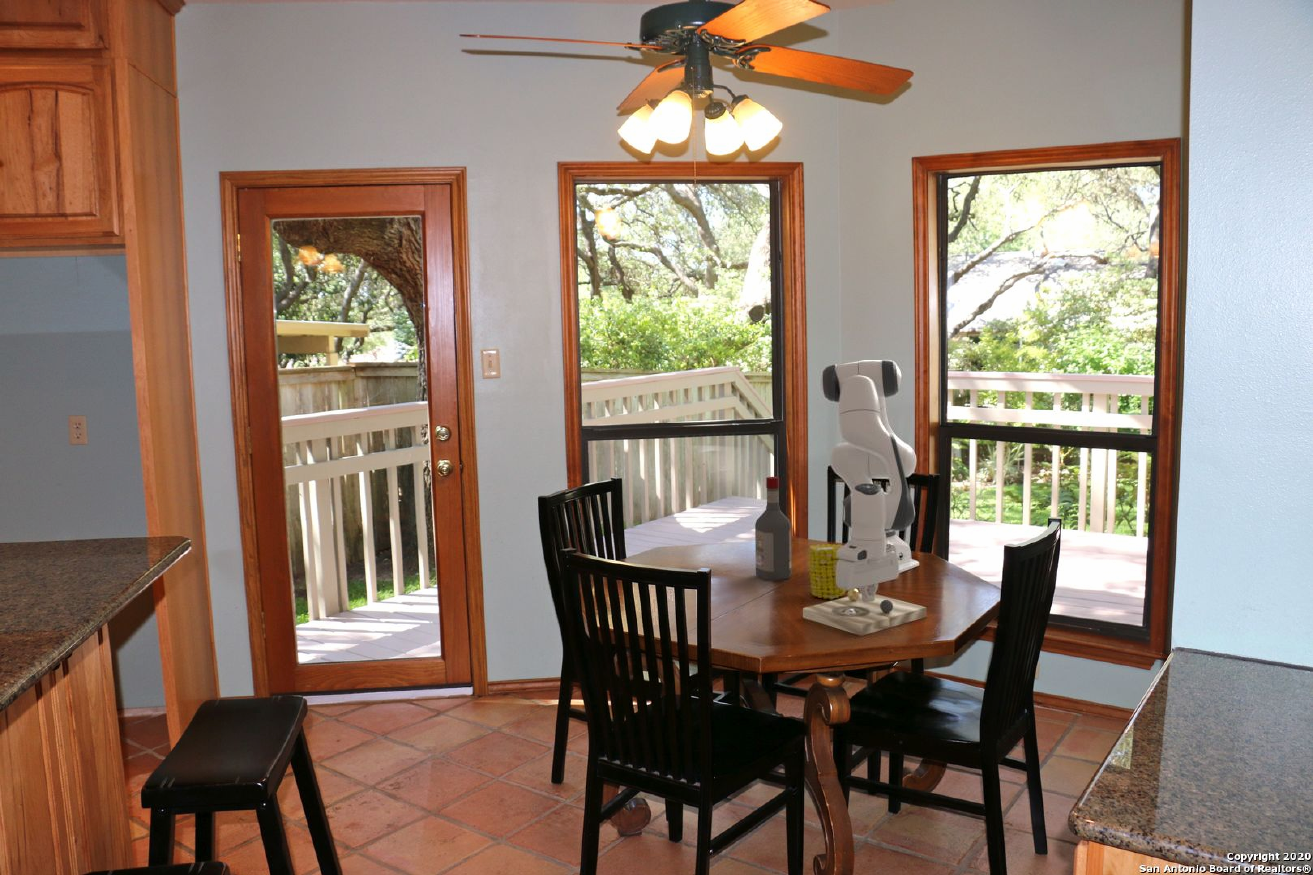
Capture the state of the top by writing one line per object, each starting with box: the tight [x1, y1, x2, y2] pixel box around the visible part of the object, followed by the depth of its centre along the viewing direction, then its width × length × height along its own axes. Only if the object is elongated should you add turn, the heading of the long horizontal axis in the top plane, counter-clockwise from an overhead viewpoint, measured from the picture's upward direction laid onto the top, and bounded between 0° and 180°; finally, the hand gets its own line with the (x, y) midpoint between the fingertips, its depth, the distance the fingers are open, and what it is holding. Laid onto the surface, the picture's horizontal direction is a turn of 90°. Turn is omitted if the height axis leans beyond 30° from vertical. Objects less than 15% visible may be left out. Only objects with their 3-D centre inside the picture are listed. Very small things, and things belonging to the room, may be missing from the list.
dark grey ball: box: [880, 600, 893, 613], centre depth 254 cm, size 3×3×3 cm
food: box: [808, 543, 847, 601], centre depth 280 cm, size 15×12×10 cm
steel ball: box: [844, 609, 856, 614], centre depth 256 cm, size 3×3×3 cm
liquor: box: [754, 476, 792, 582], centre depth 301 cm, size 9×9×30 cm
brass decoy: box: [846, 588, 860, 601], centre depth 266 cm, size 3×3×3 cm
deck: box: [802, 592, 927, 636], centre depth 259 cm, size 24×20×2 cm
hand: (868, 601), depth 259 cm, fingers closed
